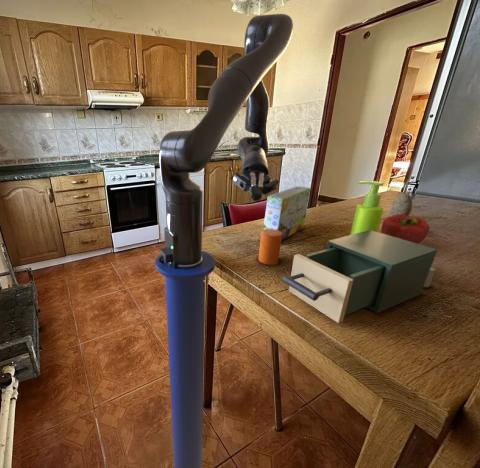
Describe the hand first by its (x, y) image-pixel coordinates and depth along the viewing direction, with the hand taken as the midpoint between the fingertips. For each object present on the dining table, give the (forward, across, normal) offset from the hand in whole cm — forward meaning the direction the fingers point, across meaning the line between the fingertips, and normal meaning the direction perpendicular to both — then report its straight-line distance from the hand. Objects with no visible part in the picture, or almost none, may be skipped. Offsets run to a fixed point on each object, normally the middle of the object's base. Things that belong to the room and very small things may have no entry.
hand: (256, 197), depth 66 cm
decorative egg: (-38, +62, +21) cm, 75 cm away
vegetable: (-10, +47, +14) cm, 50 cm away
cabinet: (+15, +27, +9) cm, 32 cm away
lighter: (+9, +38, +9) cm, 41 cm away
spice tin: (+5, +8, +16) cm, 18 cm away
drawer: (+22, +16, +8) cm, 28 cm away
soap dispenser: (-6, +34, +15) cm, 38 cm away
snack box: (-15, +16, +22) cm, 31 cm away
